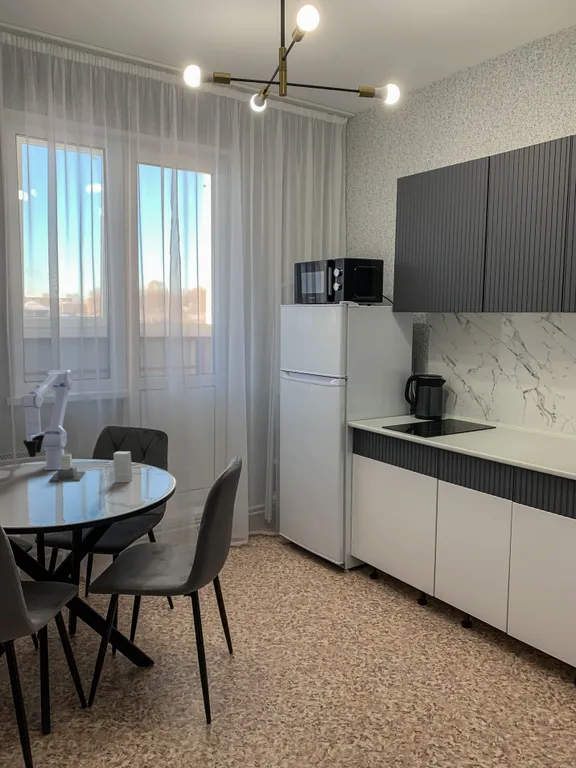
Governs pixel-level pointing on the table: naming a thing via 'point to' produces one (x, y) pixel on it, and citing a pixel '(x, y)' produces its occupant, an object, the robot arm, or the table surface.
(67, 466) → the column
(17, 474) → the table surface
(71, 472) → the stand base
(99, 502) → the table surface
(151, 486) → the table surface
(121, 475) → the skincare box
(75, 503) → the table surface
